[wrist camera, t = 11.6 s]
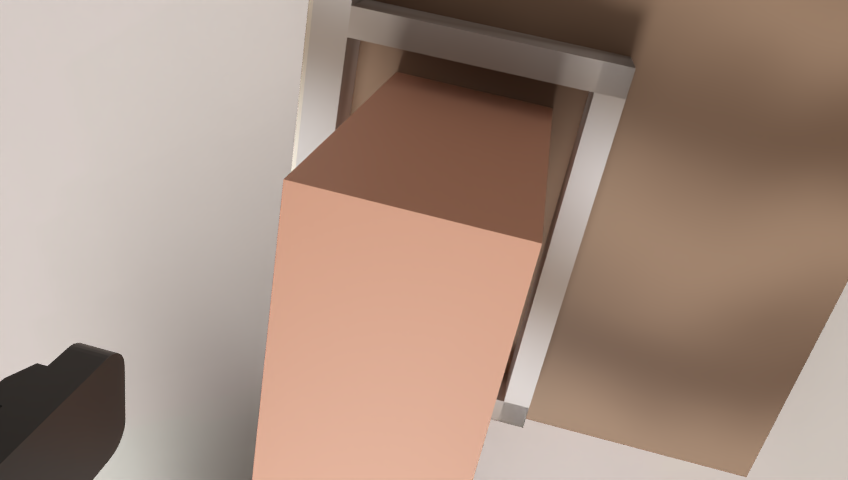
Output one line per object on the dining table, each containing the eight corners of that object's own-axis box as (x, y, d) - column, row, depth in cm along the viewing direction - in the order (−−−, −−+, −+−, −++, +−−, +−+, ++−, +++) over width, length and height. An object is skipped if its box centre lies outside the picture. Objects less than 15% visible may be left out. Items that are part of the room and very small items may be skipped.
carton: (552, 108, 20) (541, 243, 12) (488, 342, 23) (446, 568, 15) (392, 70, 20) (276, 177, 12) (352, 307, 24) (243, 510, 16)
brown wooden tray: (409, -546, 16) (372, -654, 13) (1159, -432, 15) (1316, -523, 12) (302, 324, 27) (267, 379, 24) (733, 437, 26) (757, 510, 22)
